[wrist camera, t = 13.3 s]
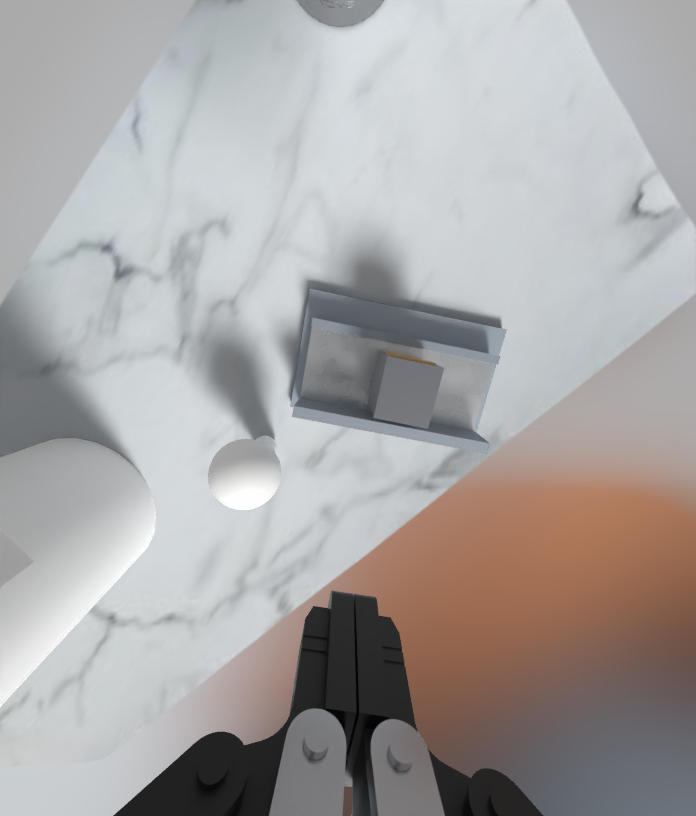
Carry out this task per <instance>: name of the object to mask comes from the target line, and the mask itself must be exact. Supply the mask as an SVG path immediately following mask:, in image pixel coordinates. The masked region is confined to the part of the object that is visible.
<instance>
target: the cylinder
mask: <svg viewBox="0 0 696 816" xmlns="http://www.w3.org/2000/svg"><path fill="white" fill-rule="evenodd" d="M156 517H157V514H156V508H155V503H154V497H153V495H152V493H151V491H150V489H149V487H148V485H147V483H146V481H145V479H144V478H143V477H142V476H141V474H140V473H139V472H138V471H137V469H136V468H135V467H134V466H133V465H132V464H131V463H130V462H129V461H127V460H126V459H125V458H123V457H122V456H121V455H120V454H118V453H117V452H116V451H114V450H111V449H109V448H107V447H105V446H103V445H101V444H98V443H96V442H92V441H87V440H82V439H78V438H61V439H52V440H49V441H46V442H43V443H39V444H36V445H34V446H31V447H28V448H25V449H23V450H20V451H17V452H14V453H11V454H9V455H6V456H3V457H0V707H1V706H2V704H3V703H4V702H5V701H6V700H7V699H8V698H9V697H10V696H11V695H12V694H13V693H14V691H15V690H16V689H17V688H18V687H19V686H20V685H21V684H22V683H23V682H24V681H25V680H26V678H27V677H28V676H29V675H30V674H31V673H32V672H33V671H34V670H35V669H36V668H37V667H38V665H39V664H40V663H41V662H42V661H43V660H44V659H45V658H46V657H47V656H48V655H49V654H50V653H51V651H52V650H53V649H54V648H55V647H56V646H57V645H58V644H59V643H60V642H61V641H62V640H63V638H64V637H65V636H66V635H67V634H68V633H69V632H70V631H71V630H72V629H73V628H74V627H75V625H76V624H77V623H78V622H79V621H80V620H81V619H82V618H83V617H84V616H85V615H86V614H87V612H88V611H89V610H90V609H91V608H92V607H93V606H94V605H95V604H96V603H97V602H98V601H99V599H100V598H101V597H102V596H103V595H104V594H105V593H106V592H107V591H108V590H109V589H110V588H111V587H112V585H113V584H114V583H115V582H116V581H117V580H118V579H119V578H120V577H121V576H122V575H123V574H124V572H125V571H126V570H127V569H128V568H129V567H130V566H131V565H132V564H133V563H134V562H135V561H136V559H137V558H138V557H139V556H140V555H141V554H142V553H143V552H144V551H145V550H146V548H147V547H148V546H149V543H150V541H151V539H152V537H153V535H154V532H155V525H156Z"/></svg>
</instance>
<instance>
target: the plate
mask: <svg viewBox="0 0 696 816" xmlns="http://www.w3.org/2000/svg"><path fill="white" fill-rule="evenodd" d="M379 351H382V352H388V353H393V354H398V355H403V356H407V357H412V358H417V359H422V360H426V361H431V362H434V363H437V364H436V365H438V366H441V367H443V368H444V371H443V375H442V379H441V382H440V386H439V390H438V393H437V397H436V401H435V405H434V408H433V412H432V416H431V419H430V422H431V423H436V424H441V425H447V426H452V427H457V428H462V429H467V430H472V431H474V427H475V424H476V421H477V417H478V414H479V410H480V407H481V404H482V400H483V397H484V393H485V390H486V387H487V383H488V380H489V376H490V373H491V370H492V366H493V363H489V362H484V361H479V360H474V359H469V358H464V357H459V356H454V355H449V354H444V353H439V352H435V351H430V350H425V349H420V348H415V347H410V346H405V345H400V344H395V343H390V342H385V341H380V340H376V339H371V338H366V337H361V336H356V335H351V334H346V333H341V332H336V331H331V330H326V329H321V328H317V327H312V330H311V336H310V342H309V348H308V354H307V360H306V366H305V371H304V377H303V383H302V389H301V395H300V397H301V398H307V399H312V400H317V401H322V402H327V403H333V404H338V405H343V406H348V407H353V408H358V409H364V410H369V411H371V409H370V405H369V402H368V398H369V393H370V389H371V384H372V380H373V375H374V371H375V366H376V362H377V358H378V353H379Z"/></svg>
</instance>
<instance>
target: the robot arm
mask: <svg viewBox="0 0 696 816" xmlns="http://www.w3.org/2000/svg"><path fill="white" fill-rule="evenodd" d="M297 1H298V2H299V4H300V5H301V6H302V7H303V9H304V10H305V11H306V12H307V13H308V14H309V15H310V16H312V17H313V18H315V19H316V20H318V21H319V22H322V23H324V24H327V25H329V26H336V27H346V26H353V25H355V24H357V23H360V22H362V21H364V20H365V19H367V18H368V17H370V16H371V15H372V14H373V13H374V12H375V11H376V10H377V9H378V8H379V7H380V6H381V4H382V3H383V1H384V0H297ZM344 786H348V787H353V812H352V816H543V815H542V814H541V813H540V811H539V810H538V809H537V808H536V807H535V806H534V805H533V804H532V802H531V801H530V800H529V799H528V798H527V797H526V796H525V795H524V793H523V792H522V791H521V790H520V789H519V788H518V787H517V785H515V783H514V782H513V781H511V780H510V779H509V778H508V777H506V776H505V775H503V774H502V773H500V772H498V771H496V770H493V769H486V768H485V769H480V770H479V771H477V772H476V773H475V774H474V775H473V776H472V778H469V777H468V776H466V775H464V774H462V773H460V772H458V771H457V770H455V769H453V768H451V767H449V766H447V765H446V764H444V763H443V762H441V761H439V760H438V759H437V758H436V757H435V756H434V755H433V754H432V753H431V752H430V751H429V750H428V748H427V746H426V744H425V742H424V740H423V739H422V737H421V736H420V735H419V733H418V731H417V728H416V724H415V721H414V715H413V709H412V703H411V697H410V692H409V686H408V680H407V675H406V669H405V666H404V659H403V653H402V646H401V640H400V635H399V632H398V630H397V628H396V626H395V625H394V623H393V621H392V620H391V618H390V617H383V616H378V607H377V599H376V597H371V596H364V595H358V594H354V596H353V594H350V593H344V592H337V591H331V594H330V600H329V604H328V608H322V607H316V606H313V608H312V609H311V611H310V612H309V614H308V616H307V617H306V619H305V624H304V629H303V634H302V640H301V645H300V651H299V656H298V662H297V669H296V676H295V682H294V689H293V696H292V702H291V709H290V716H289V718H288V720H287V722H286V723H285V724H284V726H283V727H282V728H281V729H280V730H279V731H278V732H277V733H276V734H274V735H273V736H271V737H269V738H267V739H265V740H262V741H259V742H255V743H251V744H248V745H243V743H242V741H241V740H240V739H239V738H238V737H236V736H235V735H233V734H231V733H227V732H215V733H211V734H208V735H206V736H204V737H203V738H201V739H200V740H198V741H197V742H196V743H195V744H193V745H192V746H191V747H190V748H189V749H188V750H187V751H186V752H184V753H183V754H182V755H181V756H180V757H179V758H178V759H177V760H176V761H174V762H173V763H172V764H171V765H170V766H169V767H168V768H166V770H164V771H163V772H162V773H161V774H160V775H159V776H158V777H156V778H155V779H154V780H153V781H152V782H151V783H150V784H149V785H147V786H146V787H145V788H144V789H143V790H142V791H141V792H140V793H138V794H137V795H136V796H135V797H134V798H133V799H132V800H131V801H129V802H128V803H127V804H126V805H125V806H124V807H123V808H122V809H120V810H119V811H118V812H117V813H116V814H115V815H114V816H342V812H343V795H344Z"/></svg>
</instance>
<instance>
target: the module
mask: <svg viewBox="0 0 696 816" xmlns="http://www.w3.org/2000/svg"><path fill="white" fill-rule="evenodd" d="M436 364H437V363H434V362H431V361H426V360H422V359H417V358H412V357H407V356H403V355H398V354H393V353H388V352H382V351H379V353H378V358H377V362H376V366H375V371H374V375H373V380H372V384H371V389H370V393H369V398H368V402H369V405H370V409H371V412H372V415H373V418H376V419H381V420H386V421H391V422H396V423H401V424H406V425H411V426H416V427H421V428H426V429H428V427H429V423H430V419H431V416H432V412H433V408H434V405H435V401H436V397H437V393H438V390H439V386H440V382H441V379H442V375H443V371H444V368H443V367H441V366H438V365H436Z"/></svg>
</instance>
